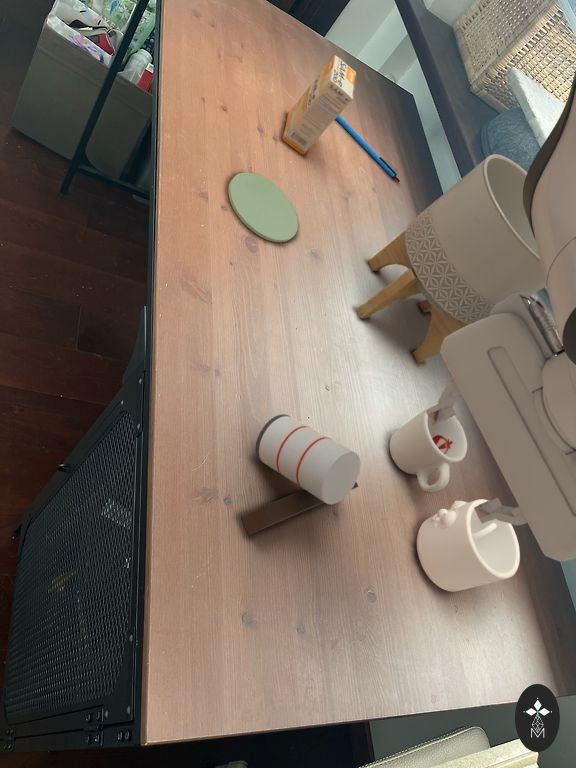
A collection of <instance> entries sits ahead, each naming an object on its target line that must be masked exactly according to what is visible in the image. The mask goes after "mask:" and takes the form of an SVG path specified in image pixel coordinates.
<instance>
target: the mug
mask: <svg viewBox="0 0 576 768" xmlns="http://www.w3.org/2000/svg"><path fill="white" fill-rule="evenodd" d="M487 501H489V500H488V499H484V498H481V499H475V500H472V501H468V502H467V501H464V500H454V502H453V503H452V505H451V506H450V508H448V509H446V508H441V509H439V510H438V511H437V513H435V514H434V515H433V516H430V517H429V518H427V519H425V520H424V521H423V522H422V524H421V525H420V527H419V529H418V531H417V537H416V551H417V556H418V560H419V562H420V565H421V568H422V569H423V571H424V573H425V574H426V576H427V577H428V578H429V580H431V582H432V583H433V584H434V585H436V586H437V587H438V588H440V589H442V590H444V591H447V592H461V591H464V590H468V589H473V588H476V587H480V586H484V585H488V584H493V583H497V582H500V581H504V580H507V579H511V578H512V577H513V576H514V575H515V574H516V573H517V571H518V569H519V566H520V561H521V552H520V551H521V549H520V545H519V541H518V537H517V533H516V531H515V529H514V527H513V524H510V523H506V522H502V521H499V520H497V519H494V520H491V521H488V522H485V523H481V521H480V519H479V517H478V515H477V513H476V511H475V509H474V507H476V506H478V505H480V504H482V503H484V502H487Z"/></svg>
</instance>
